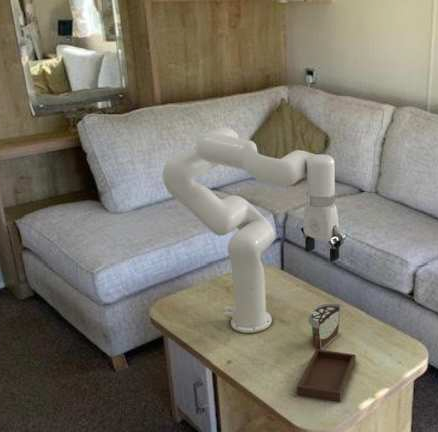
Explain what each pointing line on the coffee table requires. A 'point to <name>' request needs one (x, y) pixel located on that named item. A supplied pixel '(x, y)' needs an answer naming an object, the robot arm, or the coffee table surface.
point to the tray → (326, 375)
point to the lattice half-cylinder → (324, 324)
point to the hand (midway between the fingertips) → (322, 255)
